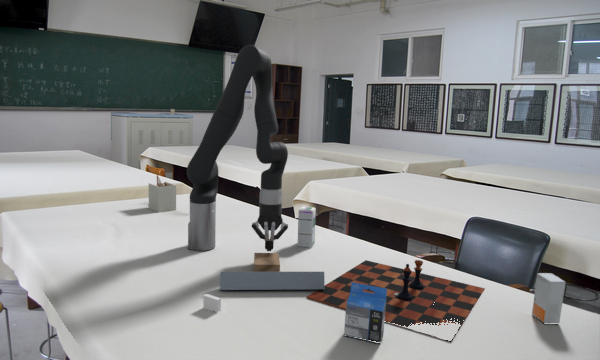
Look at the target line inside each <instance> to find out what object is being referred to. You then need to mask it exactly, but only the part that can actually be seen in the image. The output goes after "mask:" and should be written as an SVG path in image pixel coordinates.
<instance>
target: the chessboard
mask: <svg viewBox="0 0 600 360" xmlns="http://www.w3.org/2000/svg"><path fill="white" fill-rule="evenodd" d="M414 264H415V267H414V268H413V269H414V271H413V270H411V268H410V264H409V263H406V265H405V267H404V268H400V267H396V266H391V265H387V264H383V263H379V262H374V261H371V260H367V259H366V260H363V261H362V262H361V263H359V264H357V265H355V266H354V267H352V268H351V269H349V270H348V271H346V272H344V273H343V274H340V275H339V276H338V277H336V278H335V279H333V280H331V281H330V282H327V283H326V284H324V287H325V289H315V291H314V292H311V293H309V294H308V295H307V296H306V299H308V300H311V301H314V302H318V303H320V302H321V304H324V305H327V306H329V307H333V306H334V307H333V308H337V309H340V308H341V310H343V309H344V311H346V303H347V300H348V297H349V294H350V292H351V282H354V283H359V284H365V285H370V286H375V287H380V288H386V289H387V294H386V309H385V320H384V321H386V322H390V323H395V324H398V325H401V326H404V325H405V326H406V327H408V326H409V325H410V324H411V323H412V324H414V325H415V324H416V323H420V322H422V324H424V323H426V324H427V323H429V324H430V323H432V325H434V324H433V323H435V325H437V324H436V323H438V322H439V325H441V324H440V323H442V322H444V323H446V322H447V320H448V323H450V322H449V321H452V322H451V323H455V322H458V324H459V323H460V325H462V326H463V324H464V323H465V321H466V320H467V318H468V317H469V315H468V314H470V313H471V312H472V310H473V309H472V308H474V306H475V305H476V304H477V302H478V300H479V299H480V298H481V296H482V294H483V293H484V291H485V290H486V288H484V287H481V286H476V285H472V284H468V283H464V282H460V281H455V280H451V279H447V278H442V277H438V276H434V275H429V274H427V273H426V274H425V273H421V272H422V271H423V268H421V267H422V266H423V264H424V261H423V260H421V259H415V260H414ZM363 291H364V292H368V293H375V292H374V291H371V290H370V289H367V290H365V289H363ZM434 302H435V303H434ZM433 304H434V305H433ZM470 311H471V312H470ZM466 317H467V318H466ZM451 318H452V320H450V319H451ZM454 318H455V319H454ZM446 319H447V320H446ZM457 319H458V321H457ZM465 319H466V320H465ZM443 320H444V321H443ZM454 320H455V322H453V321H454ZM463 320H465V321H463ZM425 321H426V322H425ZM459 321H460V322H459ZM386 322H385V323H386ZM463 322H464V323H463ZM462 323H463V324H462ZM412 324H411V325H412ZM420 324H421V323H420ZM420 324H418V325H420ZM455 324H456V323H455ZM411 325H410V326H411ZM430 325H431V324H430ZM439 325H438V326H439ZM444 325H445V324H444ZM447 325H448V324H447Z"/></svg>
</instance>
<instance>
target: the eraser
mask: <svg viewBox="0 0 600 360" xmlns="http://www.w3.org/2000/svg"><path fill="white" fill-rule="evenodd" d="M202 304H203V309H204V308H206V309H205V310H207V309H209V310H208V311H210V310H212V311H211V312H213V311H215V312H214V313H216V312H219V311H220V312H222V311H221V308H222V307H221V306H222V298H221V297H219V296H215V295H212V294H209V293H205V294H204V295H203V303H202ZM220 312H219V313H220Z"/></svg>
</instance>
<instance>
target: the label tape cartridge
mask: <svg viewBox="0 0 600 360" xmlns="http://www.w3.org/2000/svg"><path fill="white" fill-rule="evenodd" d="M363 289H365V290H367V289H370V290H371V291H374V292H375V293H368V292H364V291H363ZM386 294H387V289H386V288H380V287H375V286H370V285H365V284H359V283H354V282H351V292H350V294H349V297H348V300H347V303H346V310H345V314H344V315H345V316H344V329H343V332H344V335H346V336H351V337H357V338H362V339H366V340H371V341H376V342H381V343H382V341H383V339H384V331H385V322H384V320H385V309H386ZM346 336H345V337H346ZM382 338H383V339H382ZM381 340H382V341H381Z"/></svg>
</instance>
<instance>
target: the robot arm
mask: <svg viewBox="0 0 600 360" xmlns="http://www.w3.org/2000/svg"><path fill="white" fill-rule="evenodd" d="M272 70H273V65H272V58H271V56H270V54H269V53H268V52H267V51H266V50H264V49H262V48H260V47H258V46H256V45H254V44H247V45H244V46H242V48H241V49H240V50H239V52H238V54H237V56H236V58H235V61H234V65H233V67H232V71H231V72H230V76H229V78H228V81H227V83H226V86H225V88H224V90H223V93H221V97H220V99H219V101H218V103H217V106H216V107H215V109H214V112H213V114H212V116H211V118H210V120H209V123H208V125H207V127H206V130H205V133H204V135H203V137H202V140H201V142H200V144H199V145H198V148H197V149H196V151H195V152H194V154H193V156H192V157H191V159H190V160H189V163H188V164H187V167H186V175H187V178H188V180H189V181H190V183H192V185H193V186H192V189H191V191H190V194H189V222H188V224H187V227H188V228H187V240H188V241H187V249H188V250H193V251H198V252H202V251H203V252H204V251H210V250H213V249H215V248H216V226H217V225H216V215H217V214H216V212H217V210H216V209H217V208H216V207H217V204H216V203H217V195H218V189H219V167H218V163H217V159H218V156H219V155H220V152H221V151H222V150H223V148H224V147H225V146H226V145H227V143H228V142H229V140H230V139H231V138H232V136H233V135H234V134H235V131H236V130H237V128H238V126H239V123H240V122H241V119H242V118H243V115H244V110H245V99H246V98H245V97H246V91H247V88H248V86H249V83H250V82H251V79H253V82H254V86H255V101H254V108H253V109H254V111H253V112H254V119H255V125H256V129H257V134H256V135H257V136H256V148H255V153H256V158H257V159H258V161H259V162H260V163H261V164H265V165H266V164H269V165H270V166H269V168H268V169H266V170H263V171H262V172H261V175H260V190H259V210H258V212H259V213H258V217H257V220H256V221H254V222H252V223H251V228H252V229H253V231H254V232H255V233H256V235H257V236H258V237H259V238H260V240H261V239H262V240H264V249H265V250H266V252H272V251H273V250H274V246H275V245H274V243H275V241H276V240H279V239H280V238H281V237H282V235H283V234H284V233H285V232H286V231H287V230H288V228H289V224H288V223H285V222H284V221H283V217H282V211H283V209H282V207H283V206H282V205H283V204H282V203H283V191H282V189H283V188H282V185H283V183H282V182H283V176H284V171H285V168H286V164H287V161H288V159H289V158H288V157H289V152H288V147H287V146H286V144H285V143H284V142H281V141H271V137H272V136H275V135H276V134H277V133H279V123H278V120H277V114H276V108H275V102H274V94H273V93H274V92H273V71H272ZM260 227H261V228H262V229H261V228H260ZM279 227H280V230H279V231H278V232H277V233H276V234H275V232H276V231H277V230H278V229H279ZM262 230H263V231H264V233H263V232H262Z"/></svg>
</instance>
